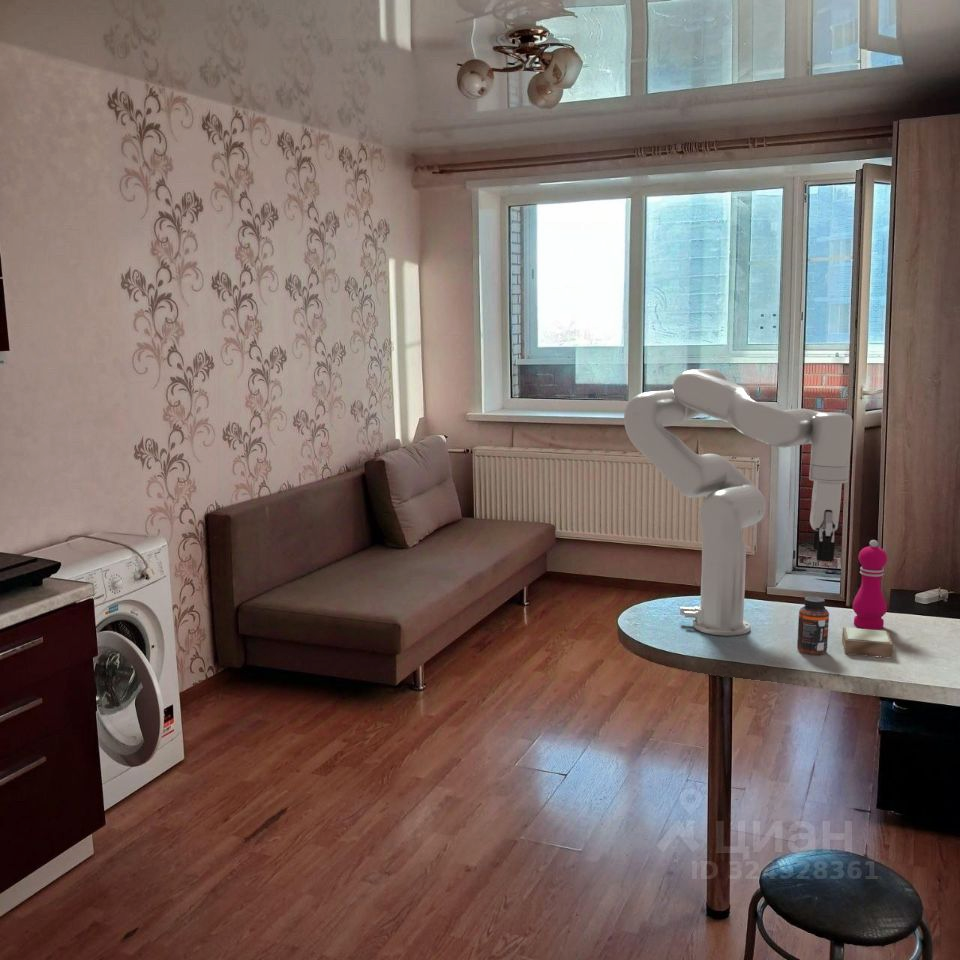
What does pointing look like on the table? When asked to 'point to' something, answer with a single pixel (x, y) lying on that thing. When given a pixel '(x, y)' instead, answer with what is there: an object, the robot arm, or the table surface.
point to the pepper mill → (870, 589)
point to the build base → (867, 642)
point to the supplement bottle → (813, 627)
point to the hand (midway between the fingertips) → (822, 555)
